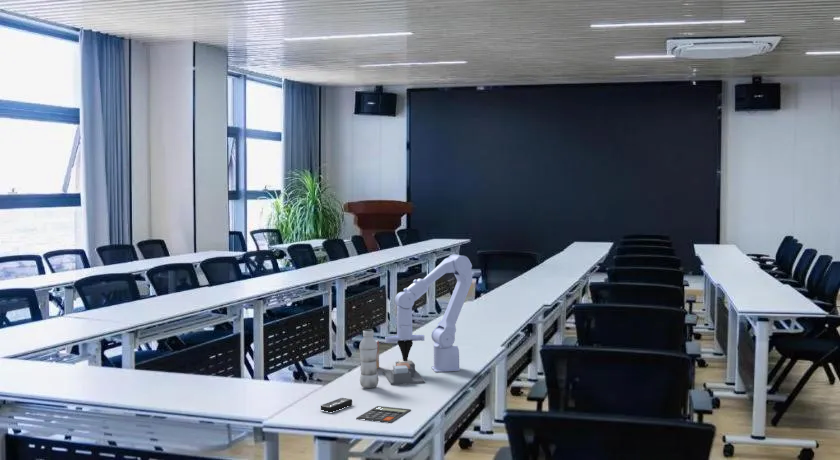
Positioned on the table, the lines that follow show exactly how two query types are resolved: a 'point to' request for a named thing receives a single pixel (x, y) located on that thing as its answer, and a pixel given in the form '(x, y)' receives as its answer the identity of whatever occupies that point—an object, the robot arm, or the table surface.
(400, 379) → the panel
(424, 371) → the table surface
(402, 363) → the terracotta key
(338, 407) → the multiport hub
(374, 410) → the calculator
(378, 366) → the small box
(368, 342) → the plastic bottle
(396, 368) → the slate key
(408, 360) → the ivory key
